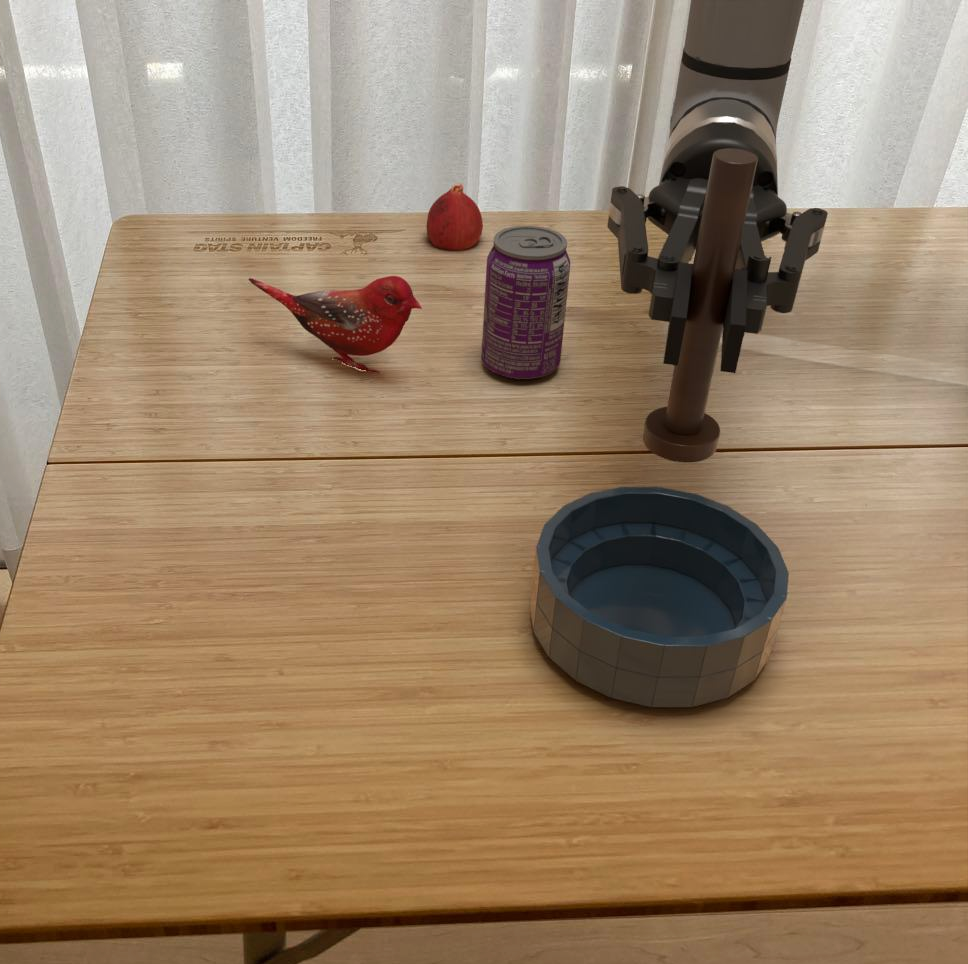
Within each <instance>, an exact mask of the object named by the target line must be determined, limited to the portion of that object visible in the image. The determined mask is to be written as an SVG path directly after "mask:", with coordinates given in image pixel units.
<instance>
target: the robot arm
mask: <svg viewBox="0 0 968 964" xmlns="http://www.w3.org/2000/svg"><path fill="white" fill-rule="evenodd" d="M804 4H805V0H690V4H689V11H688V17H687V18H688V19H687V25H686V31H685V32H686V33H685V38H684V39H685V40H684V46H683V47H682V48H683V49H682V55H681V58H680V64H679V71H678V76H677V83H676V91H675V96H674V101H673V105H672V112H671V116H670V121H669V135H668V141H667V144H666V146H665V152H664V156H663V162H662V168H661V174H660V177H659V178H660V179H659V183H658V185H656V186H654V187H653V188H652V189H651V190H650V191H649V193H648V196H645V194H642V193H635V192H634V191H633V190H632V189H631V188H630V187H627V186H623V185H620V186H614V187H613V188H612V189H611V195H610V204H609V212H608V217H607V224H606V225H607V227H606V228H607V229H608V230H609V231H610V232H611V233H612V234H613V235H614V236H615V237H616V239H617V246H618V248H617V249H618V262H619V275H620V288H621V290H622V291H623V293H626V294H628V295H630V294H631V295H632V294H633V295H635V294H636V295H637V294H640V293H642V292H643V290H645V291H647V292H648V293H650V294H651V297H650V303H649V310H648V317H649V318H650V320H651V321H658V322H664V323H665V322H667V323H668V326H667V327H668V328H667V334H666V341H665V348H664V354H663V363H662V364H663V365H669V366H674V365H676V366H678V362H679V357H680V352H681V346H682V341H683V335H684V330H685V325H686V319H687V311H688V303H689V294H690V286H691V277H692V267H693V263H689V262H691V261H692V260H693V258H694V257H693V256H694V255H695V251H696V245H697V240H698V234H699V229H700V223H701V218H702V212H703V207H704V201H705V196H706V191H707V185H708V180H709V174H710V169H711V163H712V158H713V154H714V152H715V151H717V150H720V149H726V148H735V149H742V150H746V151H749V152H752V153H753V154H755V155H756V156H757V158H758V161H757V166H756V171H755V176H754V180H753V185H752V190H751V195H750V199H749V204H748V209H747V214H746V219H745V223H744V228H743V233H742V238H741V242H740V247H739V252H738V257H737V261H736V266H735V271H734V276H733V279H732V284H731V289H730V294H729V298H728V303H727V308H726V313H725V318H724V322H723V328H722V335H721V337H722V338H721V356H720V370H719V371H720V372H722V373H728V374H729V373H730V374H736V372H737V368H738V365H739V358H740V355H741V351H742V347H743V346H742V345H743V341H744V336H745V334H746V333H747V334H755V335H758V334H759V333H760V332H761V331H762V328H763V324H764V319H765V316H766V311H767V307H769V306H770V309H771V310H772V311H774V312H776V313H780V314H789V313H791V312H792V311H793V310H794V309H793V308H794V305H795V300H796V296H797V293H798V289H799V285H800V281H801V277H802V273H803V270H804V267H805V263H806V262H807V260H809V259H810V258H812V257H813V256H814V255H816V254H818V252H819V250H820V246H821V242H822V238H823V234H824V230H825V226H826V223H827V219H828V214H829V213H828V211H827V210H825V209H823V208H819V207H813V208H808V209H806V210H805V211H803V212H801V211H793V212H792V213H789V212H788V208H787V204H786V202H785V201H784V200H783V199H781V198H780V197H779V185H778V184H779V181H778V180H779V179H778V154H777V130H778V123H779V118H780V113H781V109H782V104H783V100H784V95H785V92H786V91H785V90H786V87H787V83H788V77H789V72H790V68H791V63H792V56H793V55H792V54H793V51H794V46H795V44H796V43H795V42H796V39H797V34H798V29H799V25H800V22H801V21H800V20H801V18H802V17H801V16H802V12H803V8H804ZM647 220H648V221H649V222H650V223H651V224H653V225H654V226H656V227H657V228H659V229H660V231H662V232H664V233H665V234H667V237H666V240H665V241H664V243H663V246H662V248H661V249H660V252H659V255H658V256H657V258H656V257H652V256H650V255H649V241H648V235H647V226H646V223H647ZM779 234H781V240H782V241H783V242H785V244H784V247H783V248H784V249H783V250H784V251H783V253H782V257H781V261H780V264H779V268H778V270H777V271H770V266H771V262H772V256H769V257H767V256H766V255H765V251H764V247H763V243H762V242H765V241H767V240H769V239H771V238H774V237H777V236H778V235H779Z"/></svg>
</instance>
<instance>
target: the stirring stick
mask: <svg viewBox="0 0 968 964" xmlns="http://www.w3.org/2000/svg"><path fill="white" fill-rule="evenodd" d="M757 161H758V158H757V156H756V155H755V154H753V153H752V152H749V151H746V150H742V149H735V148H726V149H720V150H717V151H715V152H714V154H713V158H712V163H711V169H710V174H709V180H708V185H707V191H706V196H705V201H704V207H703V212H702V218H701V223H700V229H699V234H698V240H697V245H696V249H695V252H694V255H693V256H694V257H693V262H692V264H693V267H692V277H691V286H690V294H689V303H688V311H687V319H686V325H685V330H684V335H683V341H682V346H681V352H680V357H679V362H678V366H676V365H673V371H672V377H671V382H670V387H669V393H668V399H667V403H666V406H662V407H658V408H655V409H654V410H652V411H650V412H649V414H647V416H646V417H645V420H644V425H643V430H642V442H643V445H644V446H645V447H646V449H647V450H648V451H650V452H651V453H652V454H653V455H655V456H657V457H658V458H661V459H664V460H667V461H671V462H676V463H683V464H684V463H685V464H687V463H688V464H689V463H690V464H691V463H699V462H702V461H706V460H708V459H709V458H711V457H712V456H713V455H714V454H715V453H716V452H717V448H718V445H719V440H720V435H721V427H720V425H719V423H718V421H717V420H716V419H714V417H712V416H711V415H710V414H708V413H706V409H707V405H708V399H709V395H710V389H711V387H712V386H711V385H712V380H713V376H714V370H715V366H716V361H717V357H718V352H719V347H720V342H721V339H722V338H721V337H722V334H723V322H724V318H725V313H726V308H727V303H728V298H729V294H730V289H731V284H732V279H733V276H734V271H735V266H736V261H737V257H738V252H739V247H740V242H741V238H742V233H743V228H744V223H745V219H746V214H747V209H748V204H749V199H750V195H751V190H752V185H753V180H754V176H755V171H756V166H757Z"/></svg>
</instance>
